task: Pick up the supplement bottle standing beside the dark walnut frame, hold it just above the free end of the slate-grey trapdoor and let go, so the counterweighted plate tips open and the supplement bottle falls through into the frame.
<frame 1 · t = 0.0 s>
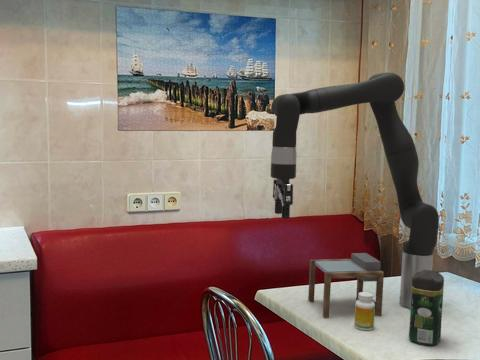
hand: (281, 216, 161), 29 cm above the table, tool pointing down, fingers open, 8 cm apart
supplement bottle: (363, 327, 153), on the table
trapdoor frame: (343, 307, 168), on the table
trapdoor: (346, 267, 167), point 13 cm above the table, hinge at 0.0°
coffee jar: (424, 340, 145), on the table
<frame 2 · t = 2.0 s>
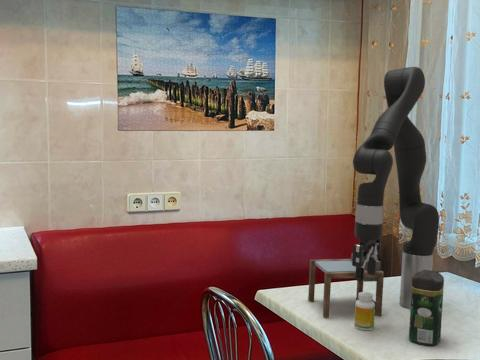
hand: (365, 277, 151), 14 cm above the table, tool pointing down, fingers open, 8 cm apart
nothing on the table moved.
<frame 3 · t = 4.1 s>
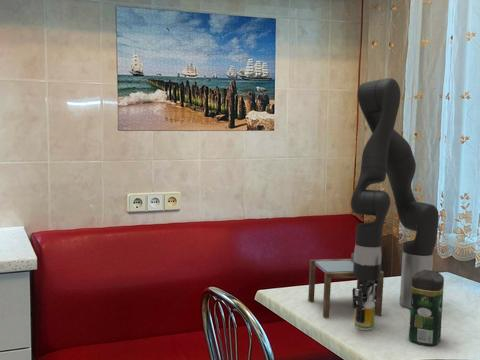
hand: (364, 318, 152), 2 cm above the table, tool pointing down, fingers closed on supplement bottle, 5 cm apart
supplement bottle: (363, 327, 153), on the table, touching gripper
everything else where it was.
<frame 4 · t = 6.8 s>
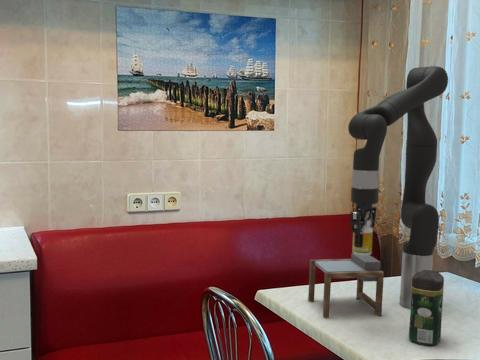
hand: (362, 244, 153), 23 cm above the table, tool pointing down, fingers closed on supplement bottle, 5 cm apart
supplement bottle: (361, 254, 153), point 21 cm above the table, touching gripper
everything else where it was.
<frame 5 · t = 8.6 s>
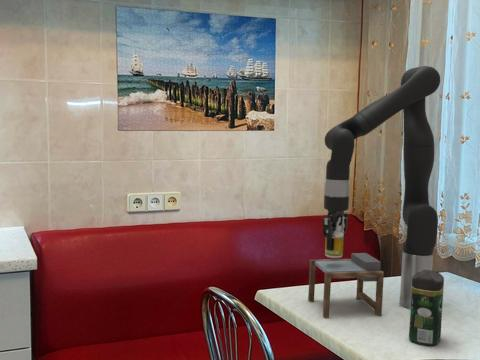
hand: (334, 248, 165), 19 cm above the table, tool pointing down, fingers closed on supplement bottle, 5 cm apart
supplement bottle: (333, 256, 166), point 16 cm above the table, touching gripper
everything else where it was.
when the fingers open (19 cm above the table, at t = 9.5 s): supplement bottle drops 7 cm, point 9 cm above the table.
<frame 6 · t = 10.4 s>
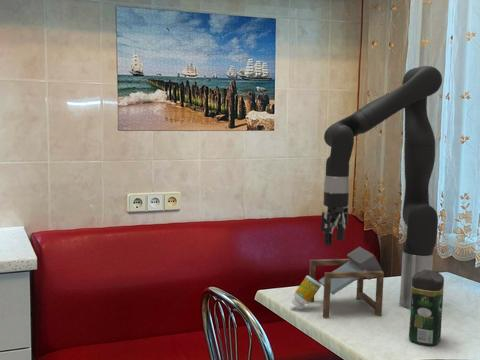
hand: (334, 242, 165), 21 cm above the table, tool pointing down, fingers open, 8 cm apart
supplement bottle: (314, 279, 166), point 9 cm above the table
trapdoor: (348, 272, 167), point 11 cm above the table, hinge at -31.4°
everything else where it was.
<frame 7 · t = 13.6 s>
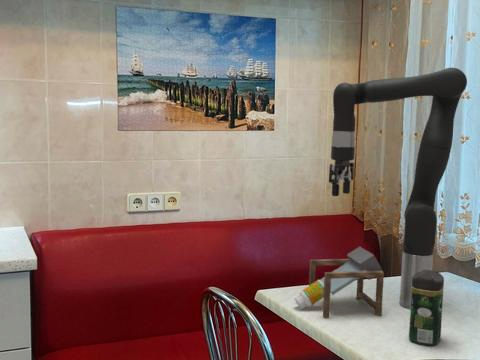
hand: (340, 194, 177), 34 cm above the table, tool pointing down, fingers open, 8 cm apart
supplement bottle: (324, 286, 167), point 7 cm above the table, touching trapdoor
trapdoor: (348, 272, 167), point 11 cm above the table, hinge at -31.6°, touching supplement bottle
everything else where it was.
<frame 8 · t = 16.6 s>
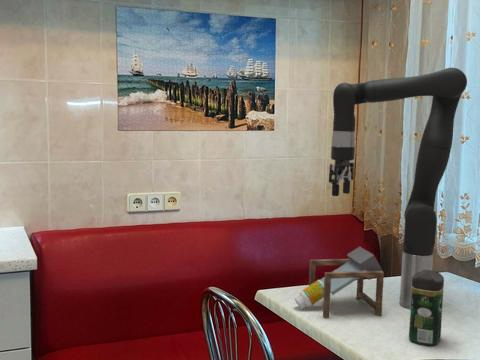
hand: (340, 194, 177), 34 cm above the table, tool pointing down, fingers open, 8 cm apart
nothing on the table moved.
at the end: supplement bottle point 6.8 cm above the table; the gripper is holding nothing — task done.
